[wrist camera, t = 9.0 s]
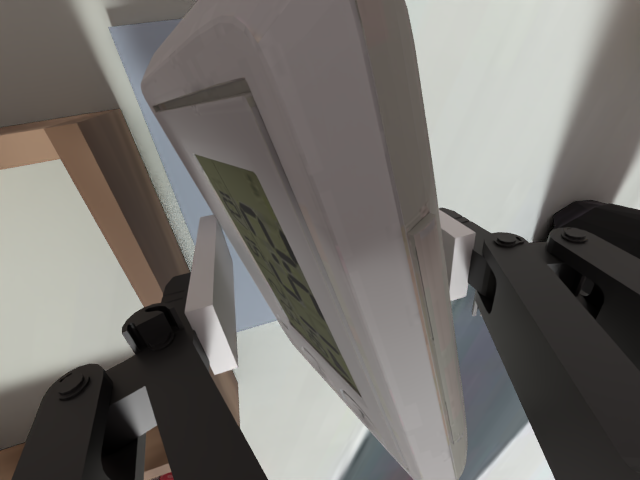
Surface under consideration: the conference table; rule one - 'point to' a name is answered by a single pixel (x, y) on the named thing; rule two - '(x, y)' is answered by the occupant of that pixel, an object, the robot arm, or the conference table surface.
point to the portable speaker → (603, 225)
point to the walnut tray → (111, 223)
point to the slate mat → (136, 55)
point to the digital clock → (327, 198)
